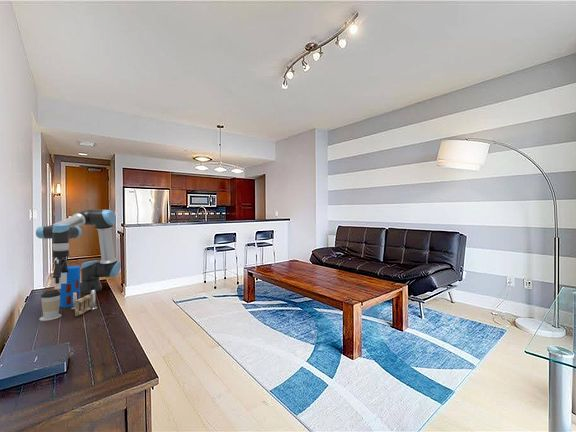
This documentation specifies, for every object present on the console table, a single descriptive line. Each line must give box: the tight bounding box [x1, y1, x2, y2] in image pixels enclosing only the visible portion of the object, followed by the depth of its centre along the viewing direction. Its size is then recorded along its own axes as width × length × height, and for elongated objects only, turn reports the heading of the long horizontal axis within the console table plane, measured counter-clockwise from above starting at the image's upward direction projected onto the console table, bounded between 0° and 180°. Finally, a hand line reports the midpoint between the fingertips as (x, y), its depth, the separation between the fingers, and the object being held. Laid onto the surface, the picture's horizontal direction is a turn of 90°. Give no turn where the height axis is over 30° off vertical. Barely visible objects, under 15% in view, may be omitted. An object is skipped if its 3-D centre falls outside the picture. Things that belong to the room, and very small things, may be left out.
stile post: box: [70, 292, 77, 310], centre depth 184 cm, size 4×4×10 cm
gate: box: [74, 293, 93, 317], centre depth 175 cm, size 14×1×9 cm, turn 3°
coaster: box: [39, 313, 62, 322], centre depth 168 cm, size 10×10×1 cm
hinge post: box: [90, 290, 98, 311], centre depth 183 cm, size 4×4×12 cm
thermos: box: [58, 265, 81, 308], centre depth 190 cm, size 11×11×25 cm
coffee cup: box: [40, 289, 61, 319], centre depth 168 cm, size 9×9×15 cm
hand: (60, 286), depth 168 cm, fingers open, 13 cm apart
